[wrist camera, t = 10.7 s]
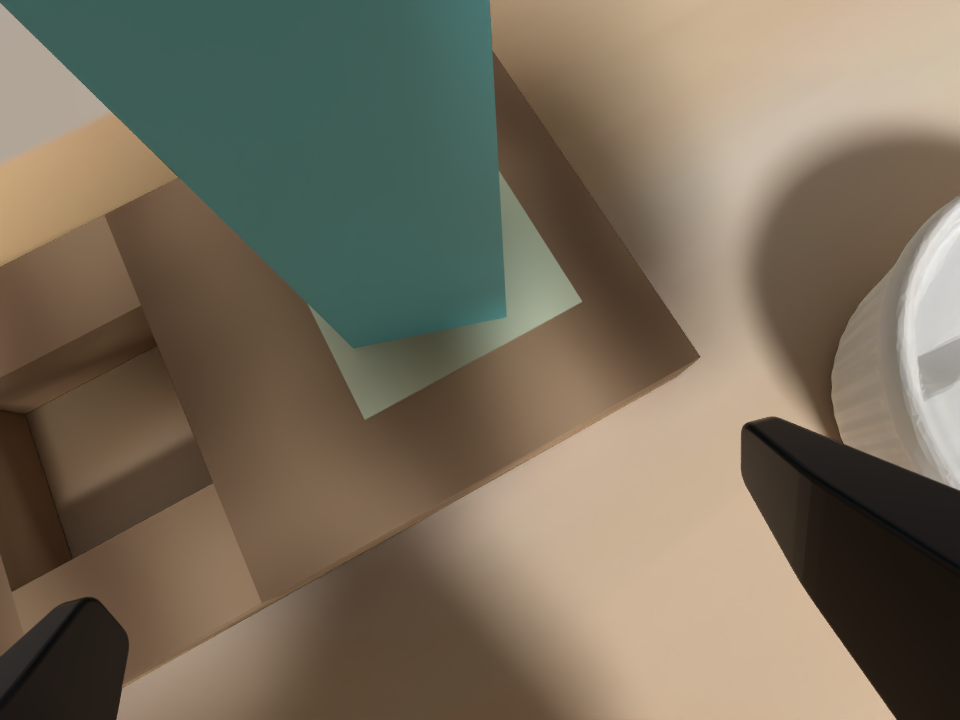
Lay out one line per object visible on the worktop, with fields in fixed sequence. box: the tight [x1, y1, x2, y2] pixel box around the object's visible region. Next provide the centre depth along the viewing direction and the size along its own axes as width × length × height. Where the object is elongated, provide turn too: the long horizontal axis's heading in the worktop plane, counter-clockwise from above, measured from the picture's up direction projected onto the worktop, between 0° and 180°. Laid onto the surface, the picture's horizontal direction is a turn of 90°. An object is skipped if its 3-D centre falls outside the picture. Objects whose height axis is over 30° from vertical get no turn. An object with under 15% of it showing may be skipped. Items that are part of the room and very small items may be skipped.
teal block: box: [0, 0, 507, 348], centre depth 11 cm, size 4×4×12 cm
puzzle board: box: [0, 51, 700, 688], centre depth 18 cm, size 22×13×3 cm, turn 119°
